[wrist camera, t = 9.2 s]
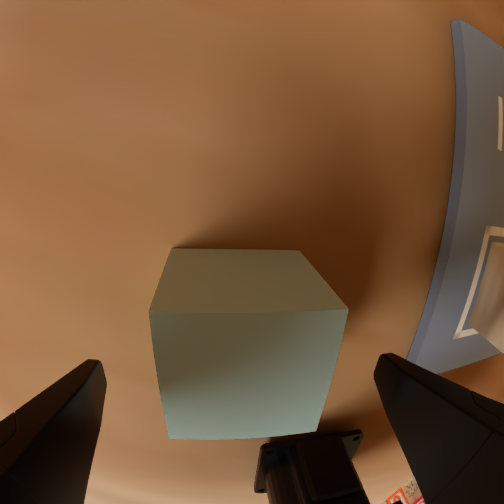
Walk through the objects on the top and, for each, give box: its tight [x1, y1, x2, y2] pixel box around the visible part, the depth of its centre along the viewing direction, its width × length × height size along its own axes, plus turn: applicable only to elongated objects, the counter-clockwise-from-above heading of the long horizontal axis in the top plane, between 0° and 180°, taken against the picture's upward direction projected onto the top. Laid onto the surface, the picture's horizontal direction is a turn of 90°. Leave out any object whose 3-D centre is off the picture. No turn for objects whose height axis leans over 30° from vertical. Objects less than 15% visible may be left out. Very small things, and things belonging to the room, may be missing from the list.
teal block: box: [149, 248, 349, 440], centre depth 10 cm, size 5×5×5 cm
